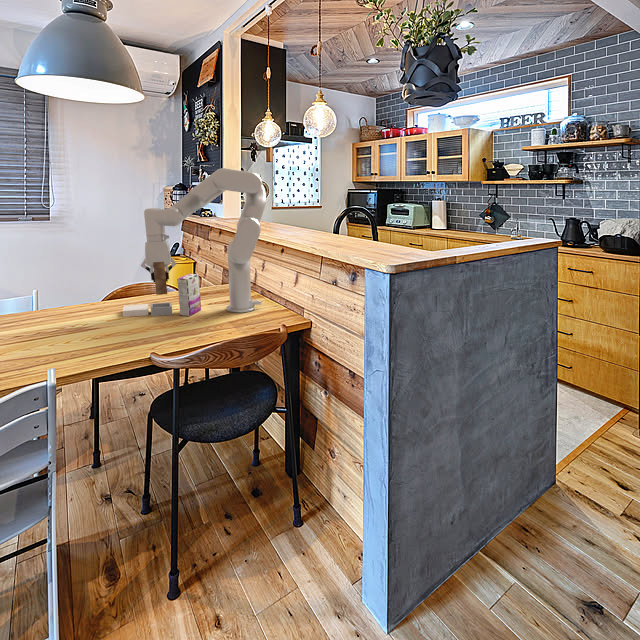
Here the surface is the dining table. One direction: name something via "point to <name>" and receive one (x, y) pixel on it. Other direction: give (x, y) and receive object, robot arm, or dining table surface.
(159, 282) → the walnut block
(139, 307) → the thin white tile
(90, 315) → the dining table surface
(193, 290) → the candy bar box
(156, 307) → the pocket
